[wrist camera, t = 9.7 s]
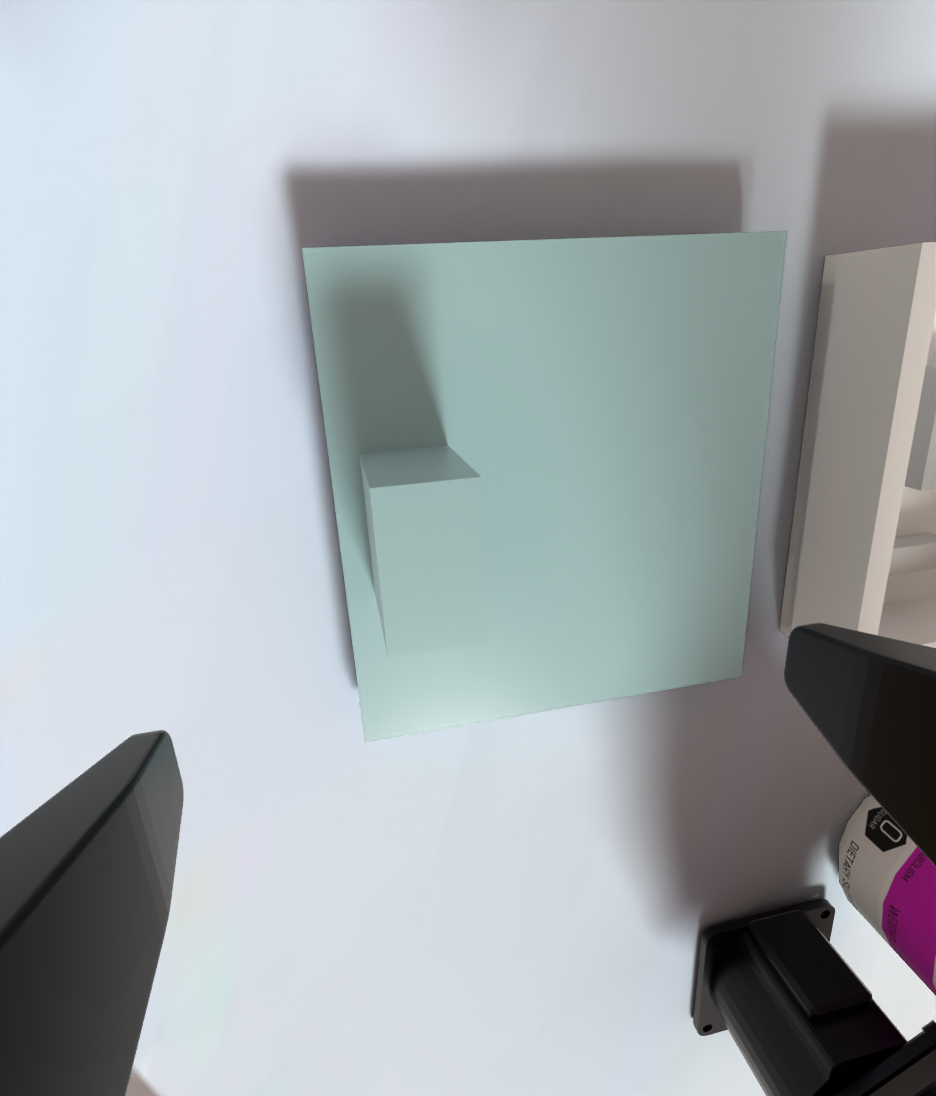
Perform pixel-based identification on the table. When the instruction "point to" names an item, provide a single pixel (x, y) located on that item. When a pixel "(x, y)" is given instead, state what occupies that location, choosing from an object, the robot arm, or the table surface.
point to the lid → (544, 465)
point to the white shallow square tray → (869, 452)
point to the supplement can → (891, 886)
